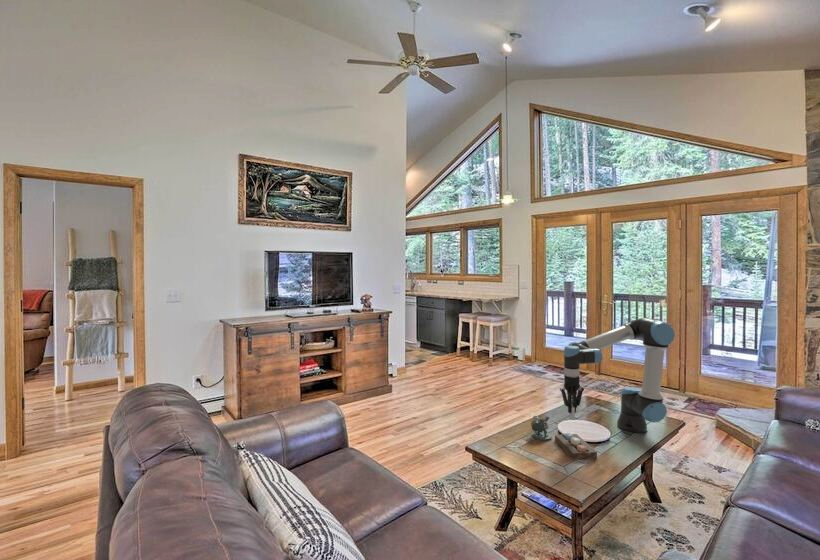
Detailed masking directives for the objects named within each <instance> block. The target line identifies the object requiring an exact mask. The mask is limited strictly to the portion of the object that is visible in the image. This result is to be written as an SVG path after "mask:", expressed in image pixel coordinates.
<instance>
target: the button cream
mask: <svg viewBox="0 0 820 560" xmlns="http://www.w3.org/2000/svg"><path fill="white" fill-rule="evenodd" d="M570 444H571V445H572V446H577V445H580V439H578V438H575V437H572V438H571V442H570Z"/></svg>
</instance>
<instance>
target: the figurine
mask: <svg viewBox="0 0 820 560" xmlns="http://www.w3.org/2000/svg"><path fill="white" fill-rule="evenodd" d="M532 418H533V420H532V421H531V423H530V425H531V429H532V432H531V435H530V436H531V437H532V438H533V439H535V440H537V441H540V442H548V441H551V440H552V437H553V435H552V434H551V433H549V432H548V431H547V430H548V429H549V428H550V427H549V424H548V423H547V422H548V421H549V420H550V417H549V416H544V418H540V417H539V416H538V415H533V416H532Z"/></svg>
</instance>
